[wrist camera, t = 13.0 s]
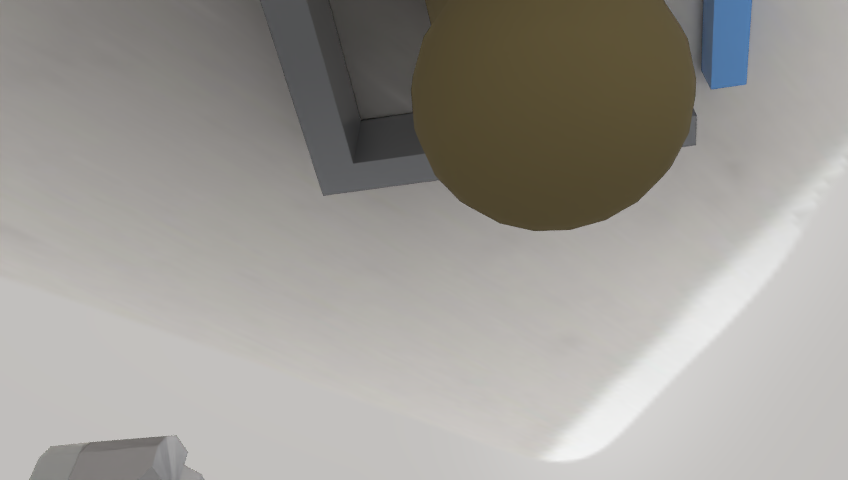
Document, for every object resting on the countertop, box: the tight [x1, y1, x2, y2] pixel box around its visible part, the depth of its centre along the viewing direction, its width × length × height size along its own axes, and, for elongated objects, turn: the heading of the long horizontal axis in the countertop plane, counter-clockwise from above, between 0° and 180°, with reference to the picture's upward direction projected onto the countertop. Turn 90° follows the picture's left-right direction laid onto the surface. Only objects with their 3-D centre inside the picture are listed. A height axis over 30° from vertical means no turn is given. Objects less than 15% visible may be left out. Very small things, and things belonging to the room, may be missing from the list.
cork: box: [411, 0, 696, 231], centre depth 18 cm, size 6×6×11 cm
